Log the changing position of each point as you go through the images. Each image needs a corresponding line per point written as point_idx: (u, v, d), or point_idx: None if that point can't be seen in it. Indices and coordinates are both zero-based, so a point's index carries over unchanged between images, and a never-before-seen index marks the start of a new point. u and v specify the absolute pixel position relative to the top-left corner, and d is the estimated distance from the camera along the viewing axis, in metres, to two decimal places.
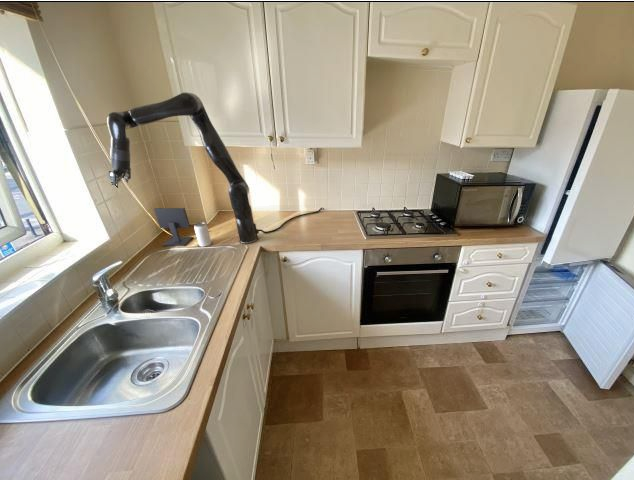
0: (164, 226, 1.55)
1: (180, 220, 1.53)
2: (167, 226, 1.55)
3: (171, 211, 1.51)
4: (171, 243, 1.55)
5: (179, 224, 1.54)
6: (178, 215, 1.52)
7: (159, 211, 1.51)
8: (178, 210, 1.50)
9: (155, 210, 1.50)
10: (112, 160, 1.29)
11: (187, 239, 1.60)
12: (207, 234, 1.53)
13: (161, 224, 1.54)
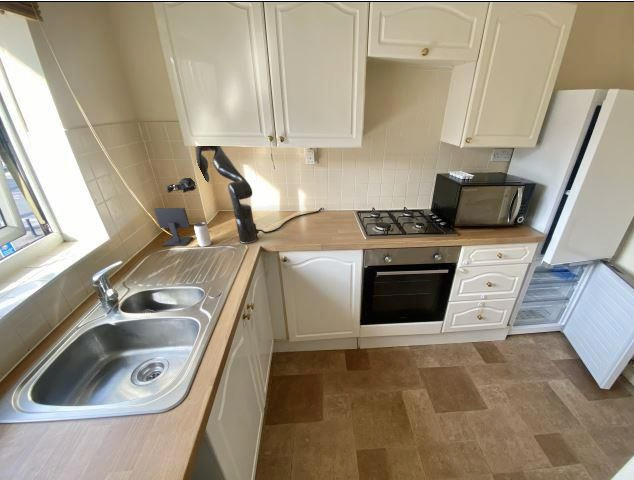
0: (164, 226, 1.55)
1: (180, 220, 1.53)
2: (167, 226, 1.55)
3: (171, 211, 1.51)
4: (171, 243, 1.55)
5: (179, 224, 1.54)
6: (178, 215, 1.52)
7: (159, 211, 1.51)
8: (178, 210, 1.50)
9: (155, 210, 1.50)
10: None
11: (187, 239, 1.60)
12: (207, 234, 1.53)
13: (161, 224, 1.54)
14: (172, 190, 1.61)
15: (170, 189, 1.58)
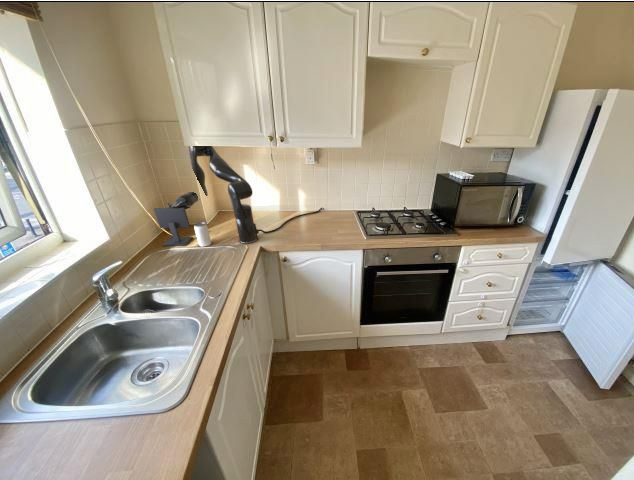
0: (164, 226, 1.55)
1: (180, 220, 1.53)
2: (167, 226, 1.55)
3: (171, 211, 1.51)
4: (171, 243, 1.55)
5: (179, 224, 1.54)
6: (178, 215, 1.52)
7: (159, 211, 1.50)
8: (178, 210, 1.50)
9: (155, 210, 1.50)
10: None
11: (187, 239, 1.60)
12: (207, 234, 1.53)
13: (161, 224, 1.54)
14: None
15: None
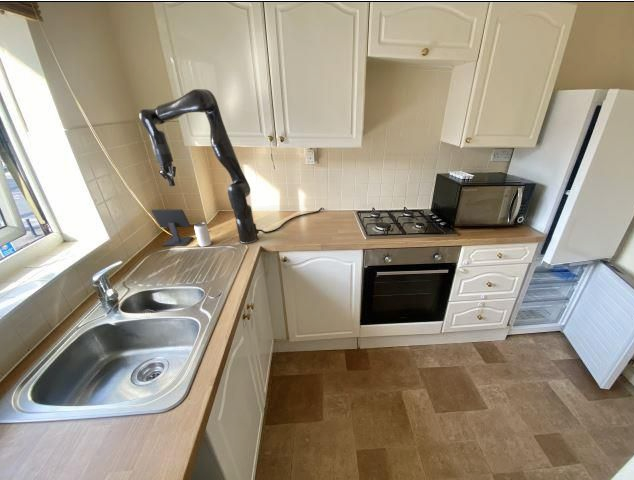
0: (165, 226, 1.55)
1: (179, 220, 1.53)
2: (167, 225, 1.55)
3: (169, 213, 1.49)
4: (171, 243, 1.55)
5: (179, 224, 1.54)
6: (177, 216, 1.51)
7: (157, 213, 1.49)
8: (176, 212, 1.49)
9: (153, 212, 1.48)
10: (156, 156, 1.44)
11: (187, 239, 1.60)
12: (207, 234, 1.53)
13: (161, 224, 1.54)
14: None
15: None
